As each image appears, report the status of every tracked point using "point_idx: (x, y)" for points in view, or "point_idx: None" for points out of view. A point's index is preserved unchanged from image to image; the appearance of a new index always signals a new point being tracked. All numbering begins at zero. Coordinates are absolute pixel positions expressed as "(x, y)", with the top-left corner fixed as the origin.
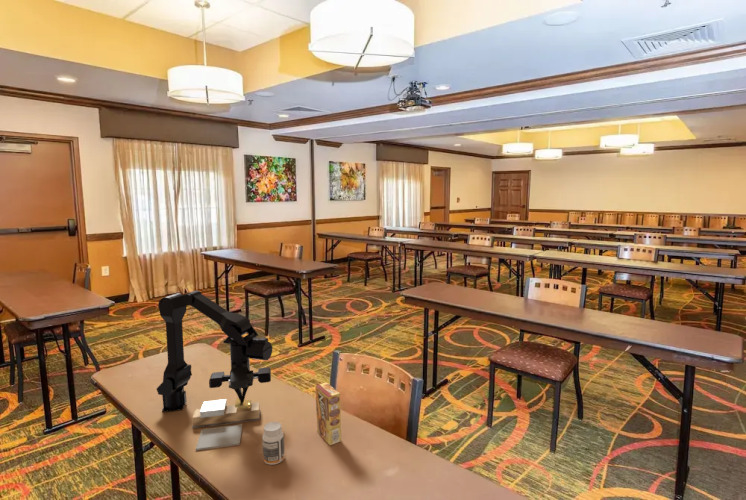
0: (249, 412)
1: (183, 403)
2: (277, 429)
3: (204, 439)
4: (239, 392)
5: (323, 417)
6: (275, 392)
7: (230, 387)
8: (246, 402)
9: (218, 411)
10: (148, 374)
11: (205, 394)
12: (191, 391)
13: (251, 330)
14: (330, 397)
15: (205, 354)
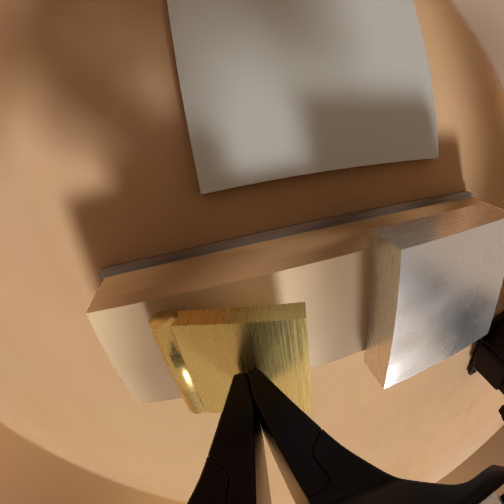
0: (160, 291)
1: (487, 347)
2: None
3: (401, 46)
4: (298, 460)
5: None
6: (149, 468)
7: (498, 479)
8: (212, 383)
9: (426, 234)
10: (490, 421)
11: (415, 417)
12: (445, 413)
13: None
14: None
15: None
